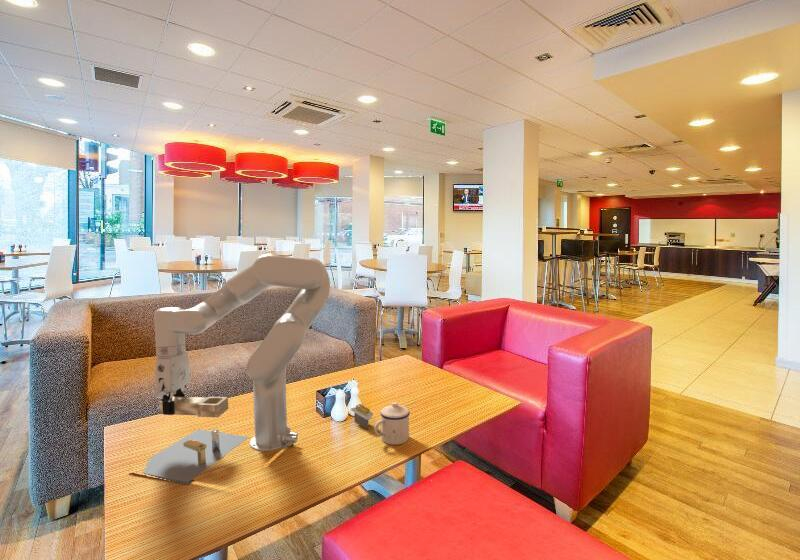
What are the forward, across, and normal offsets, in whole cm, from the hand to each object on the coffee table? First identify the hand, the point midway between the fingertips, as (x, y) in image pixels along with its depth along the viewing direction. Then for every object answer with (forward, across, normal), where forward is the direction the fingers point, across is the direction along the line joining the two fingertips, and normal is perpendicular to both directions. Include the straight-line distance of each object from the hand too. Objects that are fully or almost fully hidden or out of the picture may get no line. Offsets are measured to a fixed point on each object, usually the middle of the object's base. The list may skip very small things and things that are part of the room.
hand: (174, 410), depth 121 cm
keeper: (+12, -6, -10) cm, 17 cm away
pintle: (+13, 0, -12) cm, 17 cm away
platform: (+13, +21, -53) cm, 58 cm away
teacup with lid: (+12, +11, -63) cm, 65 cm away
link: (0, 0, -6) cm, 6 cm away
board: (+13, -2, -6) cm, 14 cm away
